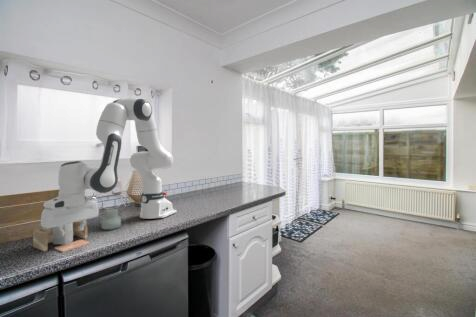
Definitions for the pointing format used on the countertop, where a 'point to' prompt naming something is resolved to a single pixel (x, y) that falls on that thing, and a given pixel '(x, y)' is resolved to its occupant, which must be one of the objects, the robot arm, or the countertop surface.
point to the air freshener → (111, 219)
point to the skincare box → (66, 238)
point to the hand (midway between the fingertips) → (72, 232)
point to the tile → (71, 245)
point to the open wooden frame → (46, 236)
